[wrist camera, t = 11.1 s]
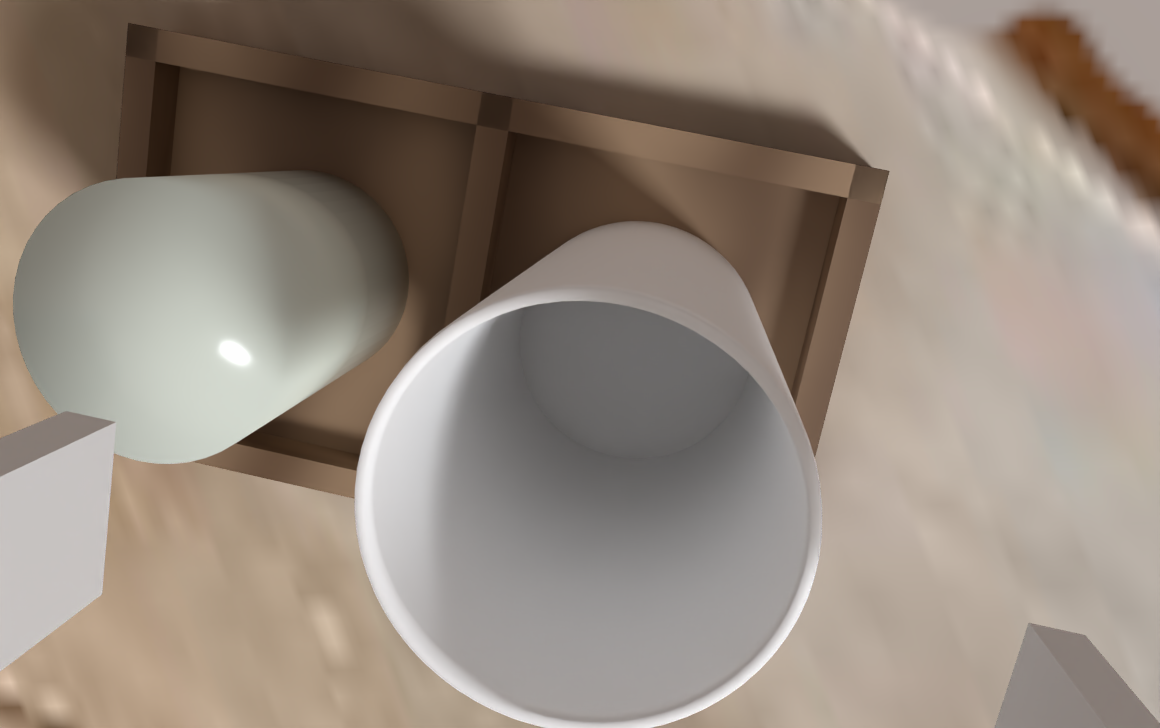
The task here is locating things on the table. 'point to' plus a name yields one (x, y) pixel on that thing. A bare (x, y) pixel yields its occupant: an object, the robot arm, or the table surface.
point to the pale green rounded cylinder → (204, 302)
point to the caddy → (493, 208)
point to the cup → (594, 488)
